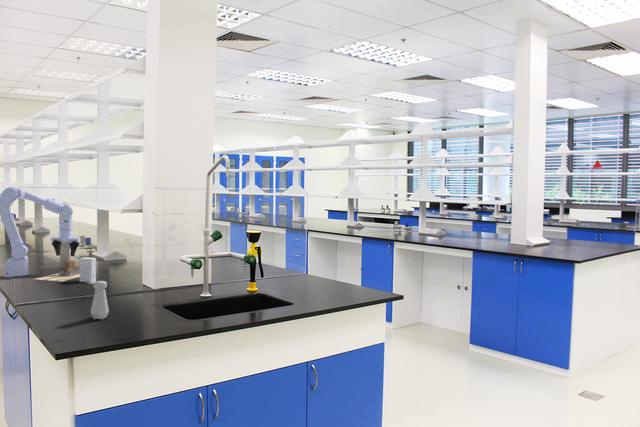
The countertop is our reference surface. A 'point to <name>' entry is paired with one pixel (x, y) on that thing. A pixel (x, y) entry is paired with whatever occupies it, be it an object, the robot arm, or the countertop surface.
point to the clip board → (61, 276)
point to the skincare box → (87, 270)
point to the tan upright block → (69, 266)
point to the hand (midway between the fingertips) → (65, 255)
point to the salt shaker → (99, 301)
